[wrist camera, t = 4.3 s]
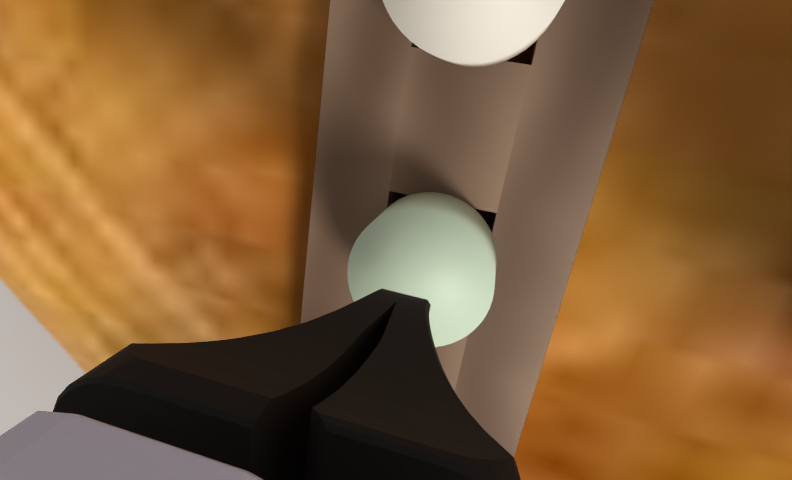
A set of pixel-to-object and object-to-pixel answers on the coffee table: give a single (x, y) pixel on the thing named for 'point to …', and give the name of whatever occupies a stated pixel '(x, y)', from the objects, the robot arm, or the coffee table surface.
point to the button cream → (473, 27)
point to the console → (472, 171)
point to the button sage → (429, 261)
